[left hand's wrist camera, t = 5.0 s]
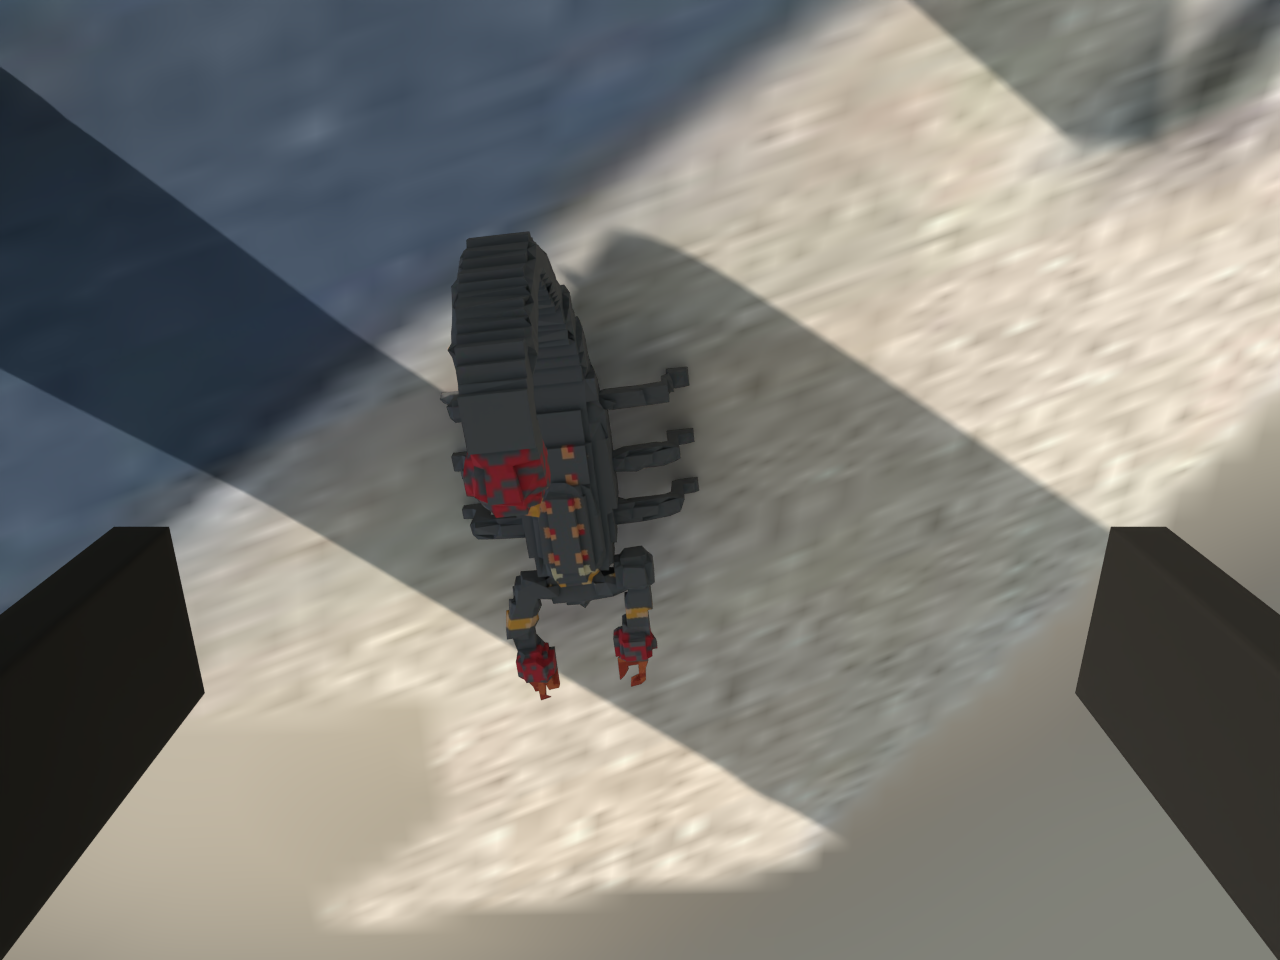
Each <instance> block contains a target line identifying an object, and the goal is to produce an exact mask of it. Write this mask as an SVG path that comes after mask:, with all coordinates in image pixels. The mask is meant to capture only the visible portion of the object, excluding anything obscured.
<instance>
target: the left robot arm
mask: <svg viewBox="0 0 1280 960" xmlns="http://www.w3.org/2000/svg"><path fill="white" fill-rule="evenodd" d="M204 693H205V692H204V687H203V682H202V678H201V673H200V669H199V664H198V659H197V655H196V650H195V645H194V641H193V636H192V631H191V627H190V622H189V617H188V613H187V608H186V603H185V599H184V594H183V589H182V585H181V580H180V576H179V571H178V566H177V562H176V557H175V552H174V548H173V543H172V538H171V534H170V529H169V527H113V528H112V529H111V530H109V531H108V532H107V533H105V534H104V535H103V536H102V537H100V538H99V539H98V540H96V541H95V542H94V543H93V544H91V545H90V546H89V547H87V548H86V549H85V550H83V551H82V552H81V553H80V554H78V555H77V556H76V557H74V558H73V559H72V560H71V561H69V562H68V563H67V564H65V565H64V566H63V567H61V568H60V569H59V570H58V571H56V572H55V573H54V574H52V575H51V576H50V577H49V578H47V579H46V580H45V581H43V582H42V583H41V584H39V585H38V586H37V587H36V588H34V589H33V590H32V591H30V592H29V593H28V594H27V595H25V596H24V597H23V598H21V599H20V600H19V601H17V602H16V603H15V604H14V605H12V606H11V607H10V608H8V609H7V610H6V611H5V612H3V613H2V614H1V615H0V960H2V959H3V958H4V956H5V955H6V954H7V953H8V951H9V950H10V949H11V947H12V946H13V945H14V943H15V942H16V941H17V939H18V938H19V937H20V935H21V934H22V933H23V932H24V930H25V929H26V928H27V926H28V925H29V924H30V922H31V921H32V920H33V918H34V917H35V916H36V914H37V913H38V912H39V910H40V909H41V908H42V907H43V905H44V904H45V902H46V901H47V900H48V899H49V897H50V896H51V895H52V893H53V892H54V891H55V889H56V888H57V887H58V885H59V884H60V883H61V882H62V880H63V879H64V878H65V876H66V875H67V874H68V872H69V871H70V870H71V868H72V867H73V866H74V864H75V863H76V862H77V860H78V859H79V858H80V857H81V855H82V854H83V853H84V851H85V850H86V849H87V847H88V846H89V845H90V843H91V842H92V841H93V839H94V838H95V837H96V835H97V834H98V833H99V832H100V830H101V829H102V828H103V826H104V825H105V824H106V822H107V821H108V820H109V818H110V817H111V816H112V814H113V813H114V812H115V810H116V809H117V808H118V806H119V805H120V804H121V803H122V801H123V800H124V799H125V797H126V796H127V795H128V793H129V792H130V791H131V789H132V788H133V787H134V785H135V784H136V783H137V781H138V780H139V779H140V778H141V776H142V775H143V774H144V772H145V771H146V770H147V768H148V767H149V766H150V764H151V763H152V762H153V760H154V759H155V758H156V756H157V755H158V754H159V753H160V751H161V750H162V748H163V747H164V746H165V745H166V743H167V742H168V741H169V739H170V738H171V737H172V735H173V734H174V733H175V731H176V730H177V729H178V728H179V726H180V725H181V724H182V722H183V721H184V720H185V718H186V717H187V716H188V714H189V713H190V712H191V710H192V709H193V708H194V706H195V705H196V704H197V703H198V701H199V700H200V699H201V697H202V696H203V695H204ZM1075 693H1076V695H1077V696H1078V697H1079V699H1080V700H1081V701H1082V703H1083V704H1084V705H1085V706H1086V708H1087V709H1088V710H1089V712H1090V713H1091V714H1092V716H1093V717H1094V718H1095V720H1096V721H1097V722H1098V724H1099V725H1100V726H1101V728H1102V729H1103V730H1104V731H1105V733H1106V734H1107V735H1108V737H1109V738H1110V739H1111V741H1112V742H1113V743H1114V745H1115V746H1116V747H1117V748H1118V750H1119V751H1120V753H1121V754H1122V755H1123V757H1124V758H1125V759H1126V760H1127V762H1128V763H1129V764H1130V766H1131V767H1132V768H1133V770H1134V771H1135V772H1136V774H1137V775H1138V776H1139V778H1140V779H1141V780H1142V782H1143V783H1144V784H1145V785H1146V787H1147V788H1148V789H1149V791H1150V792H1151V793H1152V795H1153V796H1154V797H1155V799H1156V800H1157V801H1158V803H1159V804H1160V805H1161V806H1162V808H1163V809H1164V810H1165V812H1166V813H1167V814H1168V816H1169V817H1170V818H1171V820H1172V821H1173V822H1174V824H1175V825H1176V826H1177V828H1178V829H1179V830H1180V832H1181V833H1182V834H1183V835H1184V837H1185V838H1186V839H1187V841H1188V842H1189V843H1190V845H1191V846H1192V847H1193V849H1194V850H1195V851H1196V853H1197V854H1198V855H1199V857H1200V858H1201V859H1202V860H1203V862H1204V863H1205V864H1206V866H1207V867H1208V868H1209V870H1210V871H1211V872H1212V874H1213V875H1214V876H1215V878H1216V879H1217V880H1218V882H1219V883H1220V884H1221V885H1222V887H1223V888H1224V889H1225V891H1226V892H1227V893H1228V895H1229V896H1230V897H1231V899H1232V900H1233V901H1234V903H1235V904H1236V905H1237V907H1238V908H1239V909H1240V910H1241V912H1242V913H1243V914H1244V916H1245V917H1246V918H1247V920H1248V921H1249V922H1250V924H1251V925H1252V926H1253V928H1254V929H1255V930H1256V932H1257V933H1258V934H1259V935H1260V937H1261V938H1262V939H1263V941H1264V942H1265V943H1266V945H1267V946H1268V947H1269V949H1270V950H1271V951H1272V953H1273V954H1274V955H1275V957H1276V958H1277V959H1278V960H1280V615H1279V614H1278V613H1277V612H1275V611H1274V610H1273V609H1271V608H1270V607H1269V606H1268V605H1266V604H1265V603H1264V602H1262V601H1261V600H1260V599H1259V598H1257V597H1256V596H1255V595H1253V594H1252V593H1251V592H1250V591H1248V590H1247V589H1246V588H1244V587H1243V586H1242V585H1241V584H1239V583H1238V582H1237V581H1235V580H1234V579H1233V578H1231V577H1230V576H1229V575H1228V574H1226V573H1225V572H1224V571H1222V570H1221V569H1220V568H1219V567H1217V566H1216V565H1215V564H1213V563H1212V562H1211V561H1209V560H1208V559H1207V558H1206V557H1204V556H1203V555H1202V554H1200V553H1199V552H1198V551H1197V550H1195V549H1194V548H1193V547H1191V546H1190V545H1189V544H1187V543H1186V542H1185V541H1184V540H1182V539H1181V538H1180V537H1178V536H1177V535H1176V534H1175V533H1173V532H1172V531H1171V530H1169V529H1168V528H1167V527H1111V529H1110V534H1109V538H1108V543H1107V548H1106V552H1105V557H1104V562H1103V566H1102V571H1101V576H1100V580H1099V585H1098V589H1097V594H1096V599H1095V603H1094V608H1093V613H1092V617H1091V622H1090V627H1089V631H1088V636H1087V641H1086V645H1085V650H1084V655H1083V659H1082V664H1081V669H1080V673H1079V678H1078V683H1077V687H1076V692H1075Z"/></svg>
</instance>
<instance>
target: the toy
mask: <svg viewBox="0 0 1280 960" xmlns="http://www.w3.org/2000/svg"><path fill="white" fill-rule="evenodd" d="M466 242H467V249H465V250H464V251H463V253H462V255H461V257H460V262H459V269H458V275H457V280H456V281H455V283H454V284H453V285H452V286H451V287H452V330H451V341H452V343H451V345H450V347H449V349H448V352H449V353H450V355H451V356H452V358H453V362H454V365H455V369H456V374H457V381H458V391H454V392H445V393H441V398H440V400H441V401H442V402H443V403H445V404H448V406H447V410H448V413H449V416H450V418H451V419H452V420H453V421H454V422H455V423H457V422H462V426H463V431H464V436H465V442H466V447H467V452H458V453H453V455H452V462H453V467H454V471H461V473H462V479H463V480H464V485H465V490H466V495H467V496H471V497H475V498H477V499H478V500H479V502H480V503H481V504H473V505H464V506H463V509H462V512H463V517H464V519H473V520H472V522H471V524H470V527H471V530H472V533H473V535H474V536H475V537H476V538H477V539H506V538H525V537H526V542H527V548H528V554H529V558H535V562H536V568H537V570H534V571H521V576H517V577H516V580H515V585H514V586H513V595H514V598H513V599H509V610H507V613H506V631H507V639H513V640H514V642H515V645H516V648H517V650H518V653H517V659H516V665H517V670H518V676H519V677H520V678H522V679H524V680H525V681H526V683H530V684H531V685H532V686H533V687H534V689H535V691H539V693H540V698H541V700H543V699H546V698H549V697H551V696H548V695H546V685H547V687H548V689H549V690H551V689H555V688H559V686H560V681H559V674H558V668H557V662H556V653H555V647H549V644H548V643H545V642H544V641H543V640H542V639H541V638H540V637H539V636H538V635H537V634H536V630H535V626H536V624H537V622H538V620H539V616H538V612H539V610H540V608H541V606H542V604H541V600H540V599H552V601H553V604H555V603H567V605H576V604H580V605H582V606H583V607H585V608H586V606H587V605H588V604H589V602H590V601H591V600H595V599H600V598H606V597H612V596H615V595H617V594H619V593H622V592H624V591H626V590H628V592H625V608H626V614H625V615H623V616H622V626H620V627H618V628H616V629H615V630H614V636H613V640H614V647H615V654H616V657H617V656H619V657H618V666H619V674H620V680H621V679H622V678H623V677H624V676H625V674H626V673H627V671H628V669H629V668H628V666H630V665H637V664H638V665H639V674H637V675H635V676H633V677H631V687H632V686H635V685H639V684H642V683H643V682H644V681H645V680H646V666H647V663H648V658H650V657H652V649H656V648H657V641H656V638H655V637H654V635H653V634H652V632H651V629H650V621H649V614H648V610H650V609H652V608H653V603H652V595H651V586H650V585H652V584H653V583H654V582H655V579H654V565H653V557H652V555H651V554H650V553H649V552H647V551H646V550H645V548H644V547H643V546H636V547H630V548H624V549H623V551H622V552H621V553H620V554H619V555H614V550H615V547H614V542H617V524H624V523H632V522H641V521H647V520H652V519H657V518H662V517H667V516H671V515H673V514H675V513H678V512H680V511H681V508H682V505H683V502H684V494H687V493H693V492H696V491H699V487H698V477H694V478H686V479H679V480H675V481H672V487H671V492H669V493H666V494H662V495H654V496H645V497H636V498H629V499H623V498H620V497H618V484H617V476H616V471H639V470H641V469H643V468H647V467H655V466H662V465H666V464H669V463H671V462H674V461H676V460H678V459H680V448H679V445H682V444H687V443H691V442H695V441H694V432H693V428H690V429H680V430H671V431H667V439H668V441H667V442H652V443H646V444H639V445H632V446H625V447H622V448H619V449H616V450H614V451H613V445H612V438H611V430H610V423H609V415H608V410H607V409H611V410H613V409H621V408H629V407H637V406H644V405H652V404H658V403H665V402H669V393H670V392H674V388H679V387H685V386H689V378H688V367H680V368H671V369H666V374H665V375H663V376H661V382H655V383H649V384H643V385H636V386H627V387H618V388H609V389H603V390H600V389H599V384H598V380H597V377H596V374H595V371H594V369H593V367H592V365H591V363H590V360H589V357H588V352H587V346H586V340H585V336H584V332H583V328H582V325H581V323H580V321H579V318H578V317H575V315H574V311H573V309H572V305H571V298H570V292H569V291H568V289H567V288H566V287H565V285H560V284H559V283H558V281H557V280H556V277H555V274H554V272H553V269H552V266H551V264H550V261H549V259H548V256H547V254H546V253H545V252H544V251H543V250H542V249H541V248H540V247H539V246H538V245H537V244H536V242H534V241H533V238H532V237H531V236H530V232H520V233H511V234H502V235H493V236H485V237H476V238H469V239H467V240H466ZM491 512H493V514H494V515H491ZM612 563H614V567H610V565H611V564H612Z"/></svg>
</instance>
